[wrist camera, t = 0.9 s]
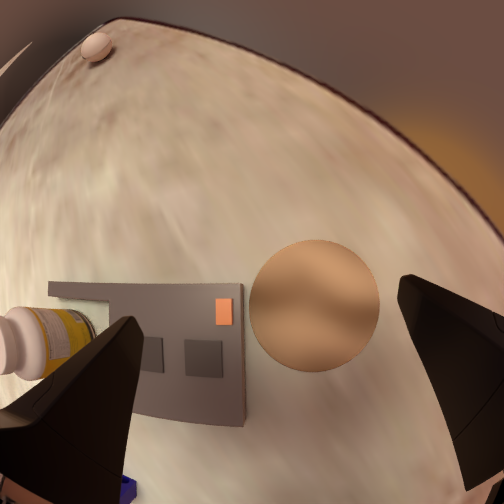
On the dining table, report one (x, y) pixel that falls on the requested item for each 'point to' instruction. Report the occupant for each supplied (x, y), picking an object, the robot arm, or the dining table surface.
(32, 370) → the pill bottle
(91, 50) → the plastic egg
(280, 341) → the cork coaster
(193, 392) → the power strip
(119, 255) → the dining table surface
